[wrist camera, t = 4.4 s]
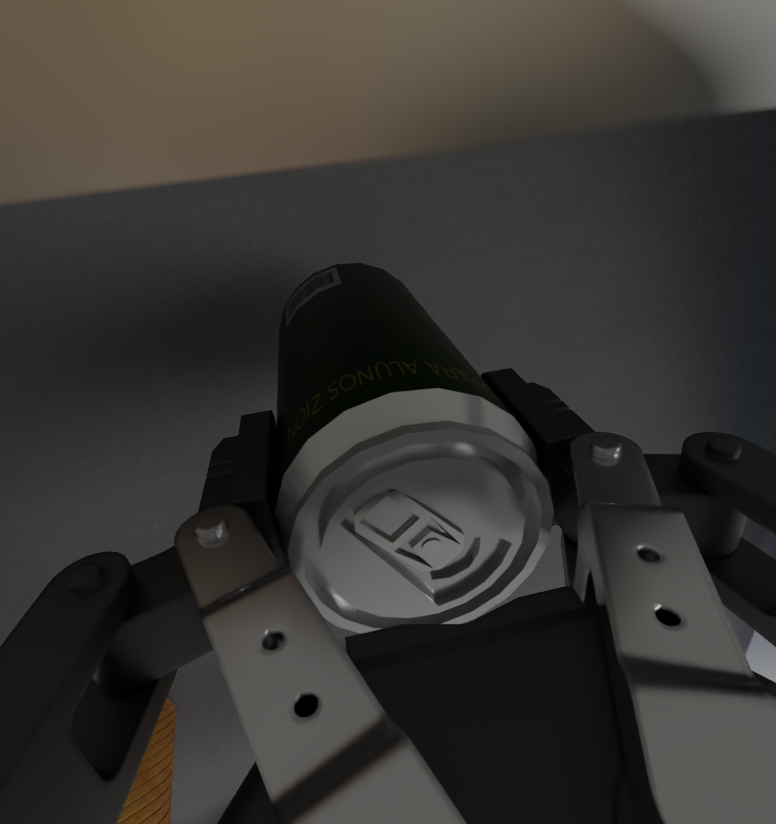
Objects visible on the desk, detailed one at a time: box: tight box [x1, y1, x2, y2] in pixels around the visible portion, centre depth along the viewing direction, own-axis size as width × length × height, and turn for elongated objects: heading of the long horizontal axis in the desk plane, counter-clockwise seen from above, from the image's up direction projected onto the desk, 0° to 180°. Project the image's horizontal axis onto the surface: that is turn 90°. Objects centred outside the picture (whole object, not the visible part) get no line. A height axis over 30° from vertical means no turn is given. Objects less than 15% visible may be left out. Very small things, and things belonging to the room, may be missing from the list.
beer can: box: [275, 263, 554, 634], centre depth 14 cm, size 5×5×12 cm
